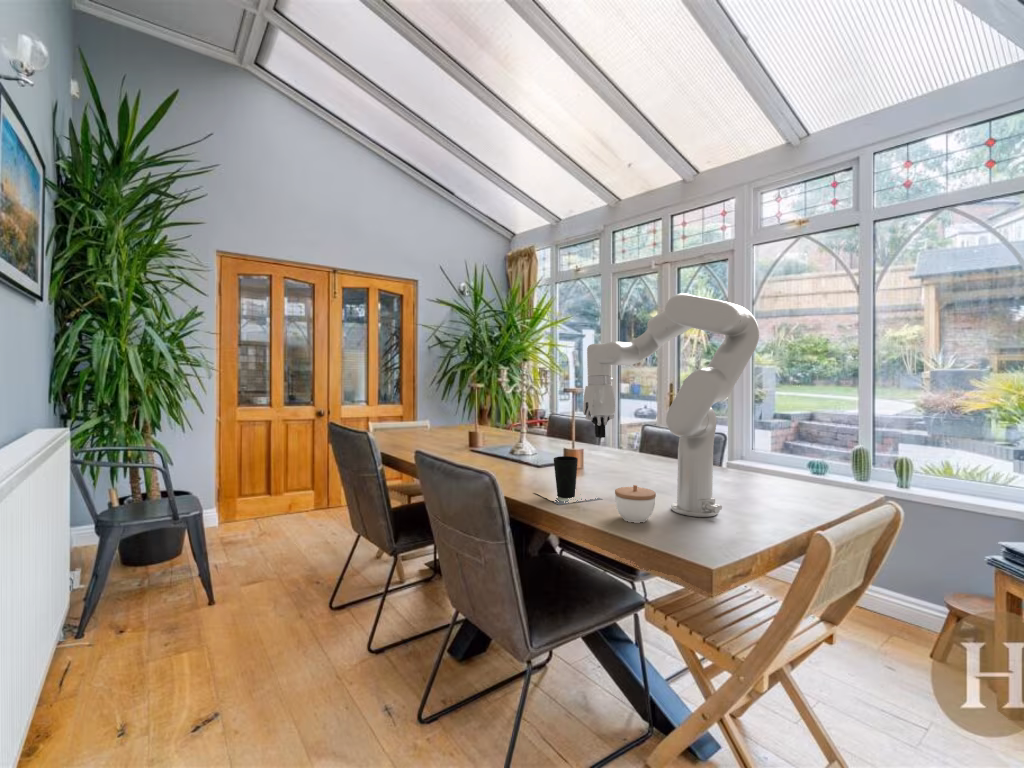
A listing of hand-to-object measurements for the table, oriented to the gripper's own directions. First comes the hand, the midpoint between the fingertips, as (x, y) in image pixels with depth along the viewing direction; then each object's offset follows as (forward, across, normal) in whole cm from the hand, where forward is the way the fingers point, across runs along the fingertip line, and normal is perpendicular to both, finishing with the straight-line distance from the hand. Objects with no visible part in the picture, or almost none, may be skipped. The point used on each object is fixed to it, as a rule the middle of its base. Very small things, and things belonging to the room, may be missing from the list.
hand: (600, 437), depth 165 cm
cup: (+18, +13, -1) cm, 22 cm away
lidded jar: (+20, +10, +28) cm, 35 cm away
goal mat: (+18, +12, -1) cm, 22 cm away
